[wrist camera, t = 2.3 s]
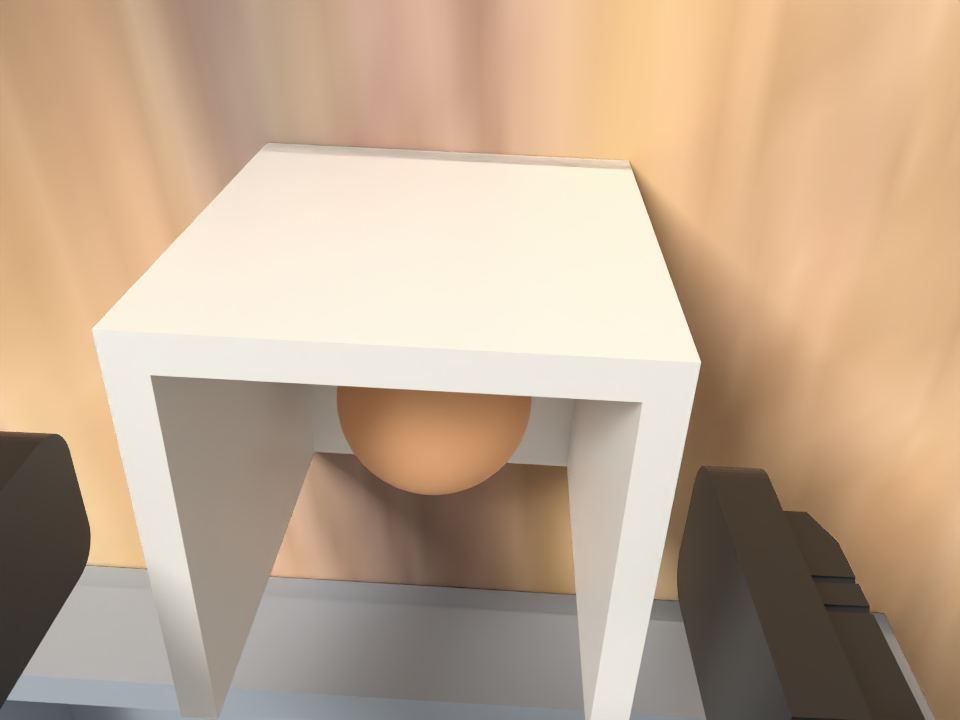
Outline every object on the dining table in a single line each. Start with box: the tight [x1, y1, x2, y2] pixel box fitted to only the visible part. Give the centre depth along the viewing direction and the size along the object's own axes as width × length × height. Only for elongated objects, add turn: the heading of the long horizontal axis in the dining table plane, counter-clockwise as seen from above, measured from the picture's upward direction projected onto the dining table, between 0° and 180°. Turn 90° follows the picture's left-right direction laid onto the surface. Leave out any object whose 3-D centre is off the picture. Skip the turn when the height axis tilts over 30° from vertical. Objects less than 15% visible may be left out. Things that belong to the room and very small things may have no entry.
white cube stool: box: [92, 143, 701, 720], centre depth 12 cm, size 6×6×6 cm
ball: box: [337, 386, 532, 495], centre depth 14 cm, size 3×3×3 cm
